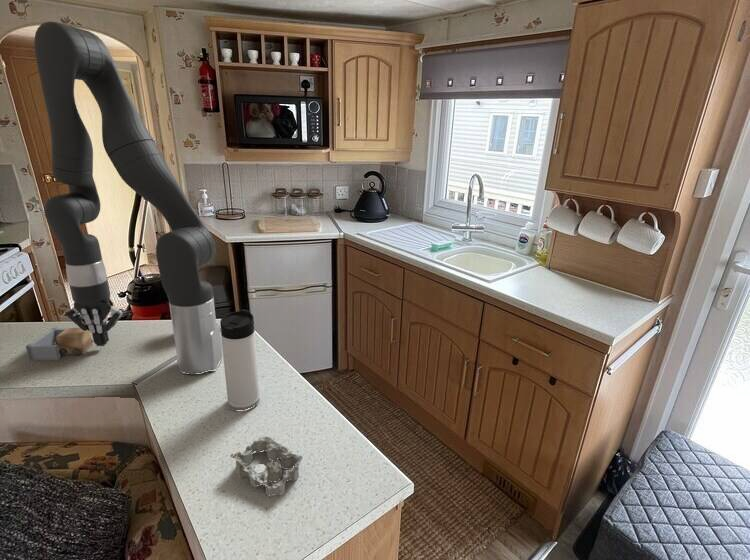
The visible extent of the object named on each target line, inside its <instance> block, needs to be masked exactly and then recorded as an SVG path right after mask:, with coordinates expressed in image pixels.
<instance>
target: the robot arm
mask: <svg viewBox="0 0 750 560" xmlns="http://www.w3.org/2000/svg"><path fill="white" fill-rule="evenodd" d="M33 43H34V44H33V45H34V53H35V54H34V55H35V60H36V66H37V71H38V74H39V75H38V76H39V81H40V85H41V90H42V93H43V99H44V103H45V107H46V112H47V116H48V117H47V118H48V122H49V123H48V124H49V129H50V139H51V170H52V176H53V178H54V180H56V182H58V183H60V184H64V185H67V186H68V193H63V194H57V195H53V196H51V197H49V198H48V199H47V200H46V202H45V205H44V209H43V210H44V211H43V213H44V217H45V220H46V223H47V224H48V226H49V227H50V229H51V231H52V233H53V234H54V236H55V238H56V239H57V241H58V243H59V244H60V246H61V249H62V253H63V257H64V262H65V270H66V277H67V281H68V286H69V291H70V295H71V298H72V301H73V302H74V303H73V307H72V308H71V309H69V310H68V311H66V312H65V316H66V317H67V318H68V319H70V320H71V321H72V322H73V323H74V324H75V325H76V326H78V328H81V329H82V330H84V331H86V330H88V331H90V334H92V340H93V343H94V344H95V345H96V347H104V346H106V344H108V342H109V341H110V340H109V339H110V338H109V333H108V332H109V331H110V330H112V328H113V327H115V326H116V324H118V322H119V320H121V319H120V318H121V317H122V316H123V314H124V313H125V310H124V309H123V308H119V309H118V308H117V307H116V306H114V303H113V301H112V300H111V291H110V285H109V280H108V275H107V270H106V267H105V263H104V260H103V256H102V251H101V247H100V242H99V240H98V238H97V236H95V235H93V234H90V233H84V232H83V230H82V229H81V225H86V224H89V223H91V222H93V221H95V220H96V219H98V217H99V214H100V212H101V200H100V196H99V193H98V190H97V189H98V188H97V185H96V182H95V179H94V175H93V174H94V173H93V172H94V148H93V144H92V139H91V137H90V133H89V131H88V130H87V128H86V126H85V123H84V121H83V120H82V118H81V115H80V113H79V111H78V108H77V105H76V99H75V82H76V80H78V81H82V82H84V84H85V85H86V87H87V88H88V89H89V91H90V93H91V95H92V97H93V98H94V100H95V101H96V103H97V105H98V107H99V111H100V114H101V138H102V139H101V140H102V144H103V148H104V151H105V153H106V155H107V156H108V158H109V160H110V162H111V163H112V165H113V167H114V168H115V170H116V171H117V174H118V176H119V177H120V178H121V180H123V182H124V183H125V184H126V185H128V187H129V188H131V190H133V191H134V192H135V193H136V194H138V196H140V197H142V198H143V199H144V200H145V201H147V202H148V203H150V204H151V205H152V206H153V207H155V209H156V210H158V212H159V213H160V214H161V216H162V217H163V218H164V220H165V221H166V223H167V225H168V226H169V228H170V229H171V231H169V232H168V231H167V232H166V233H164V234H162V235H161V236H160V237H159V238H158V240H157V241H156V247H155V256H156V263H157V266H158V271H159V276H160V281H161V285H162V288H163V291H164V292H165V293H166V295H167V299H168V305H169V311H170V319H171V326H172V331H173V339H174V344H175V345H174V346H175V352H176V353H175V354H176V359H177V365H178V366H177V367H178V370H179V369H180V370H181V371H182V372H185V373H189V374H196V373H202V372H205V371H208V370H214V369H216V367H217V365H218V363H219V361H220V360H221V358H222V356H223V348H222V338H221V325H220V323H217V319H216V310H215V308H216V307H215V300H214V298H215V297H214V290H213V286H212V284H211V283H210V282H208V281H205V280H201V278H200V275H199V268H201V267H203V266H205V265H207V264H208V263H210V262H211V261H213V259H214V258H215V255H216V251H217V249H216V248H217V247H216V244H215V239H214V237H213V235H212V234H211V232H210V231H209V228H208V227H207V226H206V224H205V223H204V222H203V220H202V219H201V217H200V216H199V214H198V212H196V210H195V209H194V207H193V206H192V204H191V203H190V201H189V200H188V199H187V196H186V195H185V194H184V193H185V192H184V191H183V190H182V188H181V187H180V185H179V183H178V181H177V179H176V178H175V176H174V174H173V173H172V171H171V169H170V168H169V165H168V164H167V162H166V160H165V158H164V156H163V154H162V152H161V150H160V149H159V146H158V145H157V144H156V141H155V140H154V138H153V136H152V135H151V133H150V132H149V130H148V128H147V126H146V125H145V123H144V121H143V120H142V117H141V115H140V114H139V111H138V109H137V107H136V106H135V104H134V101H133V100H132V99H131V96H130V94H129V93H128V90H127V88H126V86H125V83H124V82H123V79H122V77H121V75H120V74H121V73H120V72H119V70H118V68H117V65H116V63H115V61H114V59H113V57H112V55H111V52H110V51H109V49H108V47H107V45H106V44H105V43H104V41H103V40H102V39H101V38H100V37H99V36H98V35H96V34H94V32H91V31H89V30H87V29H83V28H80V27H76V26H72V25H69V24H65V23H62V22H56V21H46V22H42V23H41V24H40V25H39V26H38V27H37V29H36V31H35V35H34V41H33ZM109 315H110V317H111V318H110V319H109V318H108V317H109ZM108 319H109V320H108ZM221 361H222V360H221ZM217 368H218V367H217ZM180 370H179V371H180ZM216 370H217V369H216ZM181 371H180V372H181ZM182 372H181V373H182Z"/></svg>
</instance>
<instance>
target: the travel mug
mask: <svg viewBox="0 0 750 560" xmlns="http://www.w3.org/2000/svg"><path fill="white" fill-rule="evenodd" d="M254 322H255V321H254V315H253V314H252V313H251V311H250V309H249V310H247V309H243V308H242V309H240V310H239V311H234V312H233V311H232V312H229V313H226V315H224V316H223V317H222V318H221V319H220V323H219V325H220V335H221V345H222V355H223V366H224V367H223V368H224V374H225V376H224V377H225V386H226V397H227V405H229V406H228V408H229V407H230V408H232V409H234V410H245V409H248V408H251V407H253V406H254V405H256V404H257V403H258V401H259V402H260V391H259V390H260V389H259V375H258V360H257V345H256V331H255V323H254ZM258 404H259V403H258ZM258 404H257V405H258ZM230 408H229V409H230ZM232 409H231V410H232ZM234 410H233V411H234Z"/></svg>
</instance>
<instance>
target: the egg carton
mask: <svg viewBox="0 0 750 560" xmlns="http://www.w3.org/2000/svg"><path fill="white" fill-rule="evenodd" d="M263 450H267V452H266V458H267V457H268V458H269V459H271V460H273V461H269V462H267V463H266V464H265V465H266V466H267V469H266V472H267V476H266V474H265V473H261V475H259V476H258V475H257V476H254V475H253V467H252V466H251V465H250V464H251V463H252V462H253V460H254V457H253V455H254V454H253V455H252V453H253V452H254V451H256V452H260V451H263ZM303 457H304V456H302V455H299V454H296V453H294V452H293V451H292V450H291V451H290V450H289V448H288V447H285V446H284V445H282V444H280V443H278V442H276V441H275V440H274V439H272V437H270V436H263V437H259V438H258V439H257V440H256V439H255V440H253V442H252V444H250V445H247V446H246V448H245V450H244V451H243V452H241V451H240V450H239V451H236V452H235V453H234V454H233V453H231V455H230V458H232V459H235V465H236V466H235V474H236V476H238V477H237V478H239V477H240V478H239V479H242V478H245V477H248V476H250V477H249V480H250V481H249V482H250V485H251V484H252V485H255V486H257V485H259V486H261V485H260V484H263V485H262V486H264V485H265V486H264V487H265V494H266V495H267V494H268V495H270V496H269V497H273V496H274V495H273V494H275V495H278V494H282V493H283V492H284V491H285V492H286V482H285V481H287V480H289V481H294V480H295V481H297V479H299V478H298V477H300V473H299V471H300V468H299V466H300V464H301V462H302V460H303ZM268 458H267V459H268ZM277 458H281V459H282V460H281V459H277ZM252 459H253V460H252ZM251 461H252V462H251ZM250 462H251V463H250ZM249 463H250V464H249ZM282 466H283V467H284V468H290V469H285V470H283V472H282V468H283V467H282ZM293 466H294V467H293ZM284 468H283V469H284ZM244 476H245V477H244ZM241 477H242V478H241ZM281 477H282V478H281ZM280 478H281V479H282V483H281V484H279V483H277V482H274V481H278V480H279V479H280ZM268 479H269V480H270V481H272V482H271V483H272V484H271V486H269V485H268V481H269V480H268ZM281 479H280V480H281ZM290 479H291V480H290ZM280 480H279V481H280ZM270 481H269V482H270ZM279 481H278V482H279ZM287 482H288V481H287ZM252 485H251V486H252ZM255 486H254V487H255ZM257 487H258V486H257ZM285 492H284V493H285ZM284 493H283V494H284ZM283 494H282V495H283ZM268 495H267V496H268ZM272 495H273V496H272Z"/></svg>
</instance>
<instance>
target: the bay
mask: <svg viewBox="0 0 750 560" xmlns="http://www.w3.org/2000/svg"><path fill="white" fill-rule="evenodd" d="M67 328H68V327H52V328H51V329H49V330H48V331H46V332H45V333H44V334H42V335H40V336H39V337H37V338H36V339H35V340H33V341H31V342H30V343H29V344H27V345H26V346H25V348H26V352H27V356H28V359H29V360H35V361H36V360H45V361H46V360H47V361H48V360H49V361H52V360H53V361H59V360H60V359H61V358H62V356H61V355H60V353H59V346H58V344H56V343H55V342H57V339H56V336H57V335H59V334H60V333H62V332H63V331H64V330H66V329H67ZM54 343H55V344H54ZM53 344H54V345H53Z"/></svg>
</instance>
